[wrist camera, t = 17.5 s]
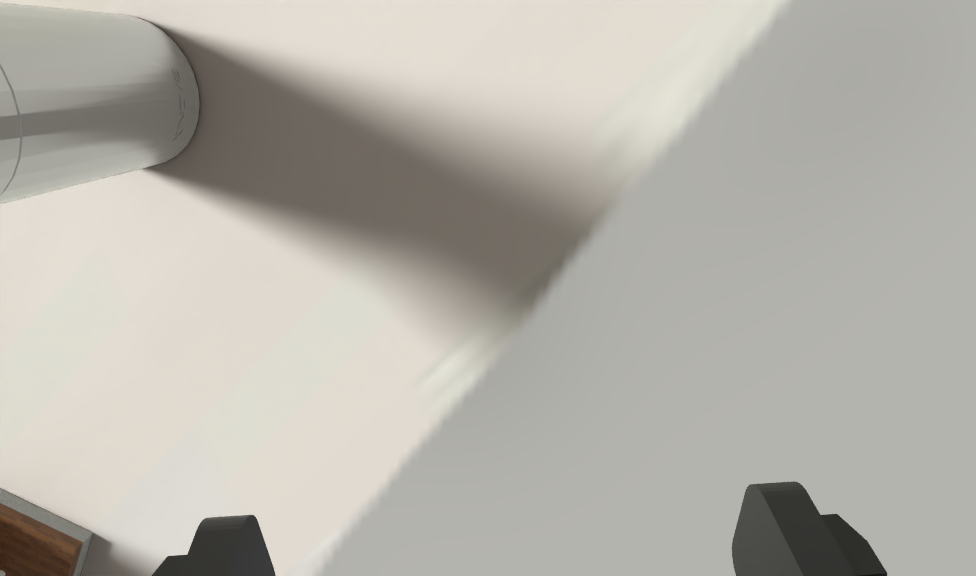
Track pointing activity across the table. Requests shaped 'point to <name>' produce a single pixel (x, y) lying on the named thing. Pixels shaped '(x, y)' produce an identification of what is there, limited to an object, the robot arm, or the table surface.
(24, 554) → the display case
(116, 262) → the table surface
